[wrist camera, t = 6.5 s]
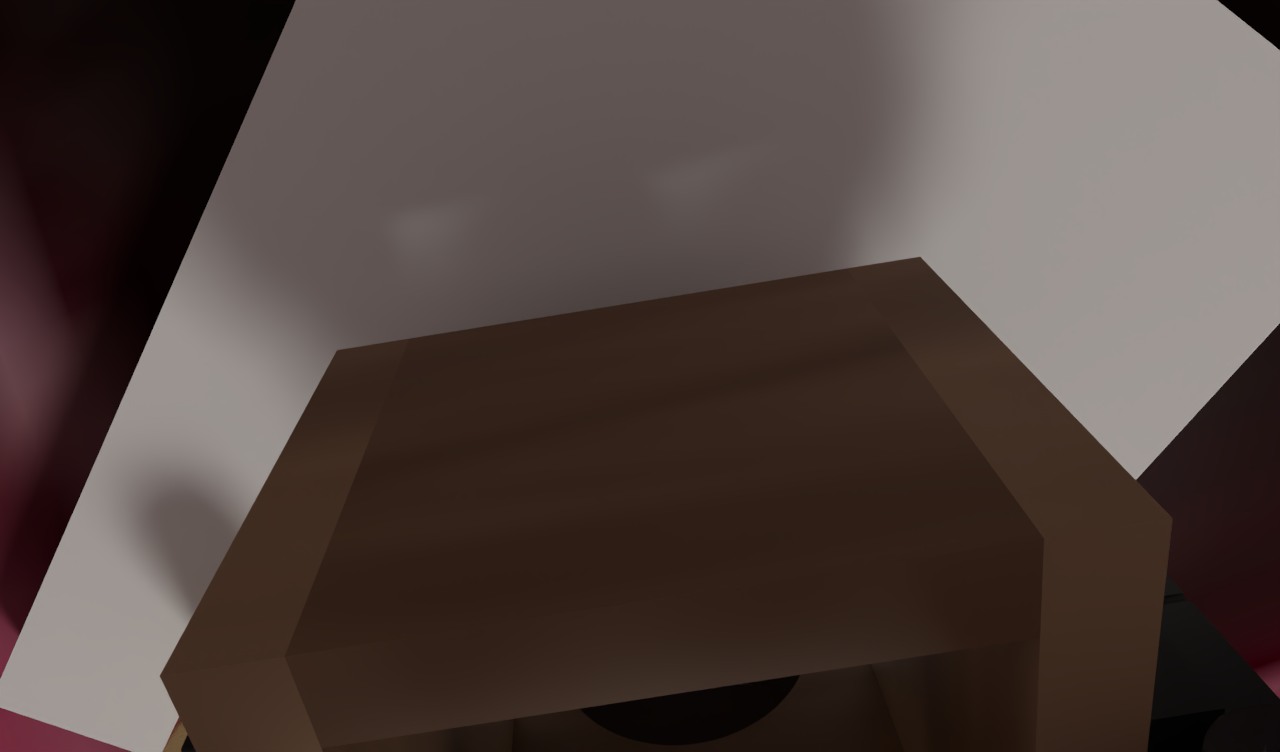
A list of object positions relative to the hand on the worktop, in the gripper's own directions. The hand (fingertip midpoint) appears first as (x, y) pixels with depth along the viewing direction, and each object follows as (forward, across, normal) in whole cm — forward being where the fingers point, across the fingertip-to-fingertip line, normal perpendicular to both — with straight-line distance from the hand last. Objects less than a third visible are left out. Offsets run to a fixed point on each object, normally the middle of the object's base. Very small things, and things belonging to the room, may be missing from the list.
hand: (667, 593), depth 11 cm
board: (+4, 0, 0) cm, 4 cm away
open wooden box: (+1, 0, +3) cm, 3 cm away
